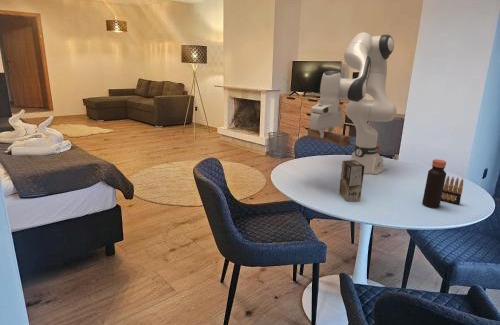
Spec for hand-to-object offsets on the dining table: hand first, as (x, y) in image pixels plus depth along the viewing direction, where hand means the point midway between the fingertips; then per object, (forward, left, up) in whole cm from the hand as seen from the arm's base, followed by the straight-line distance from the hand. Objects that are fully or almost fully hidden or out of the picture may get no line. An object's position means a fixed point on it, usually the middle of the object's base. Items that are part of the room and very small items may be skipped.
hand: (325, 137), depth 158 cm
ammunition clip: (-31, +45, -25) cm, 60 cm away
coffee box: (+1, +17, -25) cm, 30 cm away
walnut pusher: (0, 0, -2) cm, 2 cm away
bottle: (-21, +43, -25) cm, 54 cm away
